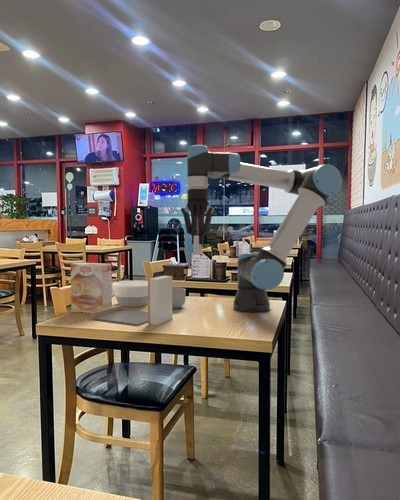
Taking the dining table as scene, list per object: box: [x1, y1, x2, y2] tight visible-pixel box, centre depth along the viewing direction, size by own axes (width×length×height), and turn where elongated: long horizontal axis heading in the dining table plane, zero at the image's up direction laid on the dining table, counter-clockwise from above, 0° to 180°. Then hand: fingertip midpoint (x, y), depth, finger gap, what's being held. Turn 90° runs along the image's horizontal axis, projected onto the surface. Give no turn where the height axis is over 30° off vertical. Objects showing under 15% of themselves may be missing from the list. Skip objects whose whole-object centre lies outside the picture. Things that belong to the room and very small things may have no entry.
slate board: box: [90, 304, 148, 327], centre depth 151 cm, size 21×18×2 cm
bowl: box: [112, 280, 148, 308], centre depth 176 cm, size 18×18×9 cm
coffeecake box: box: [70, 262, 113, 314], centre depth 161 cm, size 15×7×20 cm, turn 70°
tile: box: [147, 275, 173, 326], centre depth 144 cm, size 4×10×16 cm, turn 154°
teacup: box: [172, 286, 187, 310], centre depth 169 cm, size 14×11×8 cm
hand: (197, 253), depth 148 cm, fingers closed
